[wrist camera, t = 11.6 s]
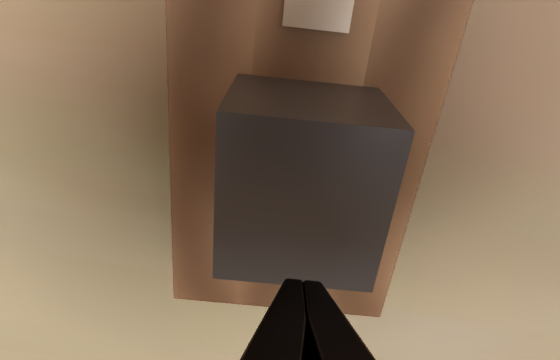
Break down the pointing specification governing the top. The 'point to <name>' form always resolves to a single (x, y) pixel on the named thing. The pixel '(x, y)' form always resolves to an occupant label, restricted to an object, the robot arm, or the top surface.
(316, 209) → the dark grey block
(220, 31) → the socket box
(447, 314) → the top surface
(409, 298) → the top surface
